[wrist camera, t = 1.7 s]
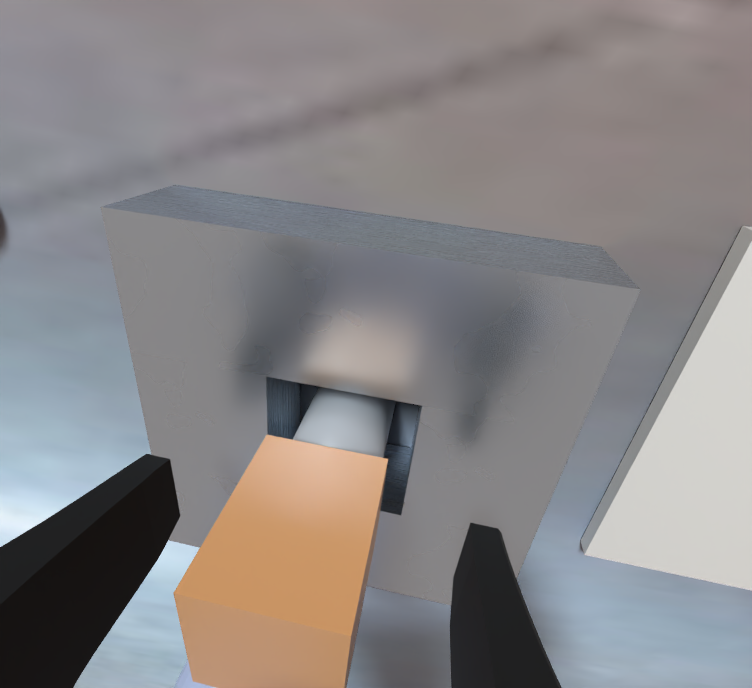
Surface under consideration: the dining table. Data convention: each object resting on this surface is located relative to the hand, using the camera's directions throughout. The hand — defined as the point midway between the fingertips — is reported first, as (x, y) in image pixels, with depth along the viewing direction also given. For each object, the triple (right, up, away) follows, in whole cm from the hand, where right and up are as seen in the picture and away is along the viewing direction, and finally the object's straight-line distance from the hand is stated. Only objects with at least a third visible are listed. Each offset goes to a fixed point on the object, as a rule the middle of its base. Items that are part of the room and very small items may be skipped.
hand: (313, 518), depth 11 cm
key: (+1, +3, +5) cm, 5 cm away
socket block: (+1, +3, +5) cm, 5 cm away
